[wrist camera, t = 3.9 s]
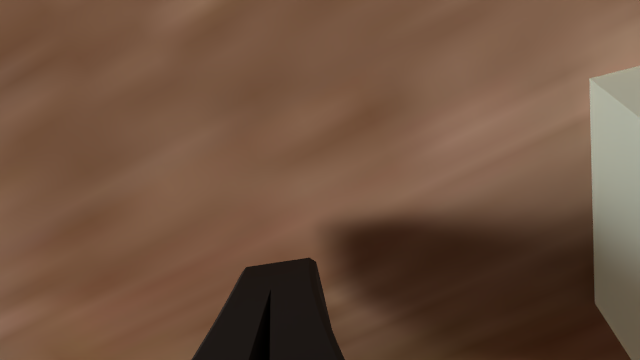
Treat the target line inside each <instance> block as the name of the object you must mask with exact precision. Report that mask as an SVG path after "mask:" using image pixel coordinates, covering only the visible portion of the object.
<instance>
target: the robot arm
mask: <svg viewBox="0 0 640 360" xmlns="http://www.w3.org/2000/svg"><path fill="white" fill-rule="evenodd" d="M192 360H345V359H344V357H343V355H342V353H341V350H340V348H339V346H338V344H337V341H336V339H335V336H334V334H333V331H332V328H331V324H330V320H329V315H328V311H327V307H326V302H325V298H324V294H323V289H322V285H321V281H320V277H319V272H318V268H317V264H316V262H315V261H314V260H312V259H310V258H304V259H298V260H291V261H284V262H278V263H271V264H264V265H258V266H251V267H246V268H245V270H244V271H243V272H242V274H241V275H240V277H239V279H238V281H237V283H236V285H235V287H234V288H233V290H232V292H231V294H230V296H229V298H228V299H227V301H226V303H225V305H224V307H223V308H222V310H221V312H220V314H219V315H218V317H217V319H216V321H215V322H214V324H213V326H212V327H211V329H210V331H209V332H208V334H207V335H206V337H205V339H204V340H203V342H202V344H201V345H200V347H199V349H198V350H197V352H196V353H195V355H194V357H193V358H192Z"/></svg>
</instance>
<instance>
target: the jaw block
mask: <svg viewBox="0 0 640 360" xmlns="http://www.w3.org/2000/svg"><path fill="white" fill-rule="evenodd" d="M590 117H591V160H592V204H593V247H594V290H595V304H596V306H597V307H598V309H599V310H600V312H601V314H602V315H603V317H604V318H605V320H606V321H607V323H608V324H609V326H610V328H611V329H612V331H613V332H614V334H615V335H616V337H617V338H618V340H619V342H620V343H621V345H622V346H623V348H624V349H625V351H626V352H627V354H628V356H629V357H630V359H631V360H640V66H637V67H633V68H629V69H625V70H621V71H617V72H613V73H610V74H606V75H602V76H598V77H594V78H590Z"/></svg>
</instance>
